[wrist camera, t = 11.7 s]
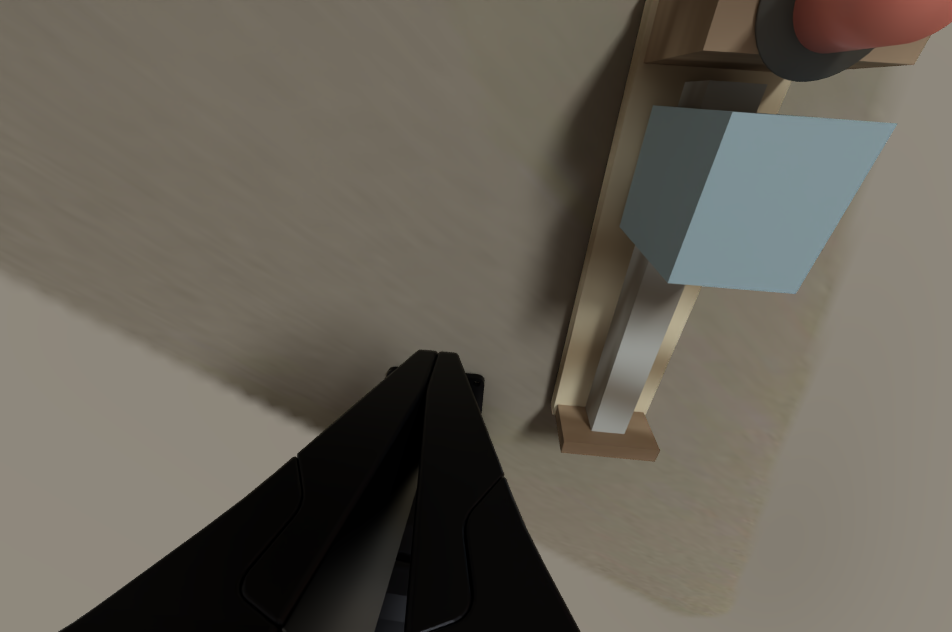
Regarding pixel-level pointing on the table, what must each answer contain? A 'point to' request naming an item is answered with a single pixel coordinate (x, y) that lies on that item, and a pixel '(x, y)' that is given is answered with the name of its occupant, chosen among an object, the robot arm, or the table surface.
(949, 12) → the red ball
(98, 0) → the table surface
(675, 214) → the light blue block
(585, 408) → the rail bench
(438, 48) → the table surface
